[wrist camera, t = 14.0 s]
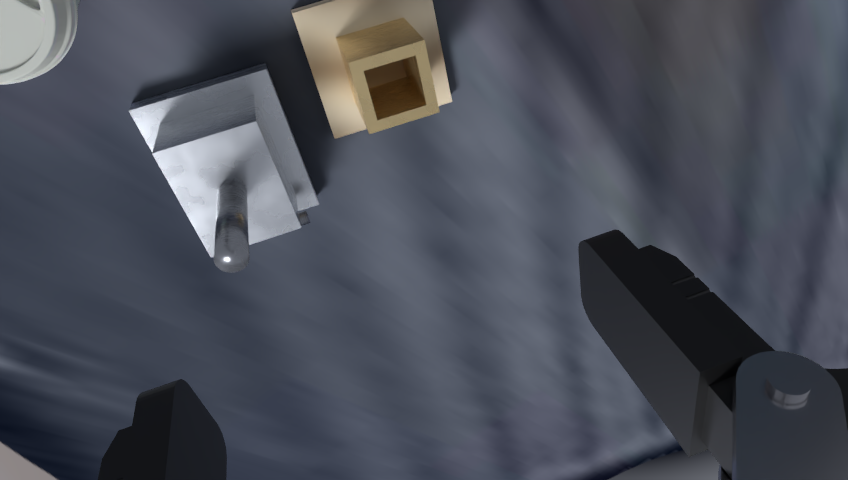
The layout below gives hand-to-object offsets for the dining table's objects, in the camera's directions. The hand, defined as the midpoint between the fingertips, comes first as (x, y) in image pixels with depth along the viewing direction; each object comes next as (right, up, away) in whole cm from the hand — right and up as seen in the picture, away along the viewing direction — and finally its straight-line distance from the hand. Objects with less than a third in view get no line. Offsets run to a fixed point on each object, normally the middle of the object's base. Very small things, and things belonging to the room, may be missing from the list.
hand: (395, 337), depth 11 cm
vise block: (-15, +9, +34) cm, 39 cm away
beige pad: (-3, +16, +33) cm, 37 cm away
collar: (-3, +15, +32) cm, 36 cm away
